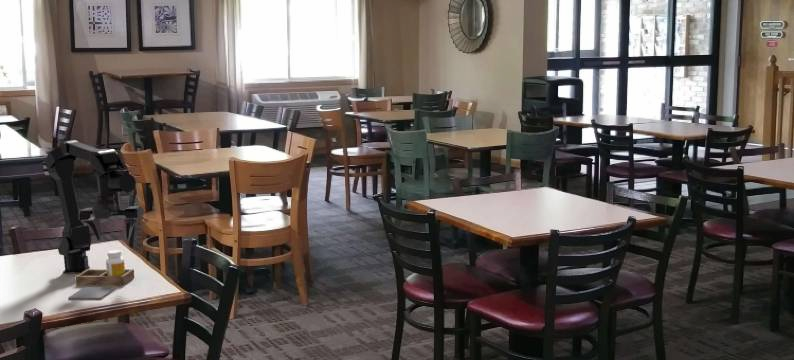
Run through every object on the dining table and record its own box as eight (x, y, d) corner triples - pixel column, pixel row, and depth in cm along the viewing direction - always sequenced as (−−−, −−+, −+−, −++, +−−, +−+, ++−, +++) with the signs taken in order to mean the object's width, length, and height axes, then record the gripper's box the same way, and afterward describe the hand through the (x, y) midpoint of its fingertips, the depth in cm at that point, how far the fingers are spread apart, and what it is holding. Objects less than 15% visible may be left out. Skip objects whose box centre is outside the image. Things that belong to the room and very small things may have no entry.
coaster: (68, 299, 253) (68, 297, 253) (83, 289, 263) (83, 287, 263) (101, 299, 252) (101, 297, 252) (115, 289, 262) (115, 287, 262)
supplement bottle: (129, 279, 272) (126, 249, 270) (118, 284, 267) (116, 254, 265) (115, 278, 273) (112, 248, 272) (104, 283, 268) (101, 253, 267)
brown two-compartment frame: (76, 285, 267) (75, 276, 267) (87, 277, 275) (87, 269, 275) (124, 285, 266) (123, 276, 265) (134, 277, 274) (133, 269, 273)
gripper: (67, 196, 258) (73, 247, 261) (127, 194, 257) (133, 245, 259) (83, 190, 269) (89, 238, 272) (141, 187, 268) (146, 236, 270)
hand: (114, 240), depth 268 cm, fingers open, 9 cm apart
